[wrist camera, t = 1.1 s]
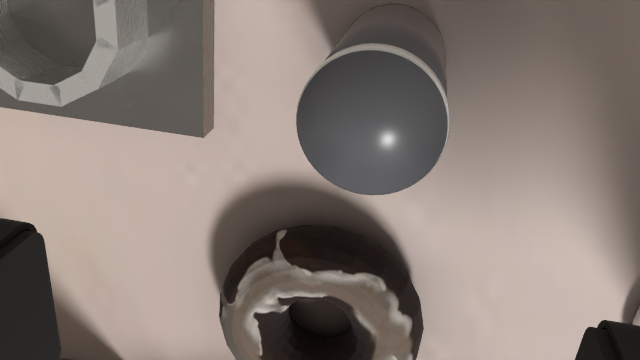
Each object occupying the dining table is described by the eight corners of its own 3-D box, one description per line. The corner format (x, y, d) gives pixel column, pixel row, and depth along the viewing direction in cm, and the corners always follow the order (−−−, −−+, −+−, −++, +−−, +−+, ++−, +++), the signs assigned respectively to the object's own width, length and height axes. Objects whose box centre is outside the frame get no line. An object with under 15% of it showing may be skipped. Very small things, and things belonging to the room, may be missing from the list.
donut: (441, 233, 32) (441, 274, 28) (404, 391, 37) (401, 442, 34) (236, 195, 33) (212, 229, 30) (228, 352, 38) (207, 397, 35)
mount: (214, -122, 26) (174, -127, 22) (213, 128, 32) (180, 160, 28) (-64, -148, 28) (-148, -156, 24) (-22, 92, 33) (-85, 118, 29)
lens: (455, 9, 27) (463, 60, 18) (436, 114, 29) (435, 207, 20) (346, -3, 27) (300, 40, 19) (335, 100, 30) (290, 184, 21)
